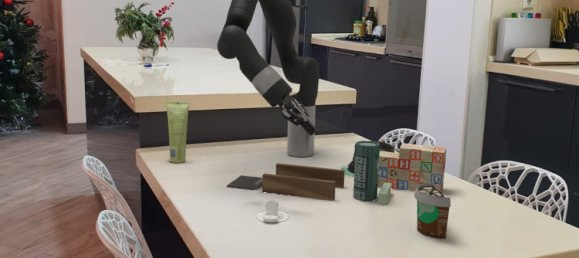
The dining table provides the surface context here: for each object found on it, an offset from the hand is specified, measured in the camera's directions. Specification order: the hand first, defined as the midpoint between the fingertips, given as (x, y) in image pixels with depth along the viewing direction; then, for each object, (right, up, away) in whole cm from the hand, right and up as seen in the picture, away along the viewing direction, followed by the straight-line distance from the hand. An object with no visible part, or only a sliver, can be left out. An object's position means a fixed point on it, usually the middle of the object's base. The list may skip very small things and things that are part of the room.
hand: (314, 133), depth 165 cm
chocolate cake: (+19, -12, +24) cm, 34 cm away
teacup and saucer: (-14, -21, -19) cm, 31 cm away
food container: (+25, -23, -25) cm, 42 cm away
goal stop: (+19, -18, -3) cm, 26 cm away
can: (+14, -18, -2) cm, 22 cm away
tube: (-43, -10, +30) cm, 53 cm away
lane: (-3, -16, +4) cm, 16 cm away
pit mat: (-19, -14, +9) cm, 25 cm away
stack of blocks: (+26, -16, +8) cm, 32 cm away
